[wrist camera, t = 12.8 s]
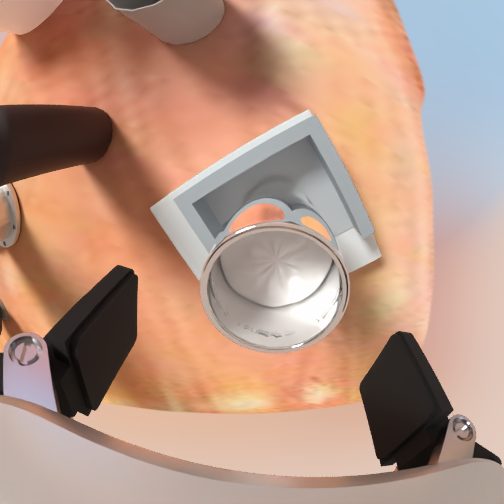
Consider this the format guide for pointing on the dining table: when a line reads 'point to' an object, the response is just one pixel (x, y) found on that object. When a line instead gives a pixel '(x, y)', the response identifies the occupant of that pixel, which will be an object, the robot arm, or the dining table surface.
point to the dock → (259, 171)
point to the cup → (173, 17)
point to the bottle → (49, 139)
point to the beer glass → (275, 273)
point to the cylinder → (24, 14)
